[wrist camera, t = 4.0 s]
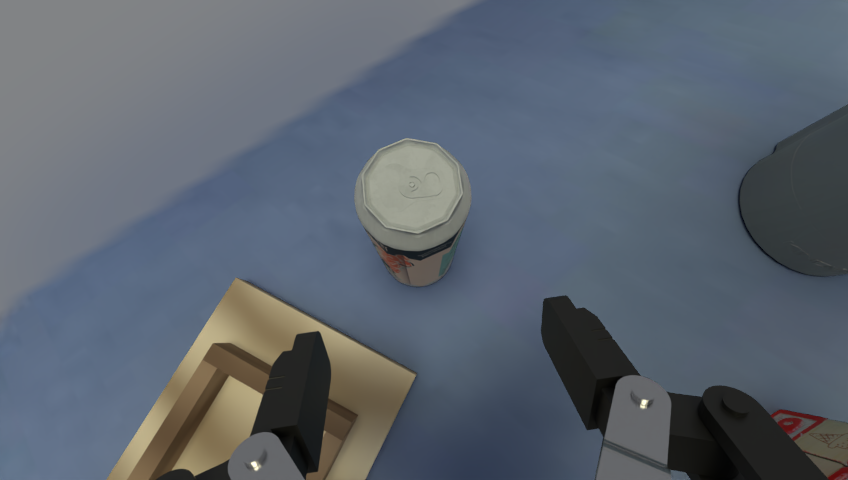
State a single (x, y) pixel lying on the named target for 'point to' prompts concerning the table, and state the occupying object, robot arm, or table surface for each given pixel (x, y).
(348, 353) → the base board
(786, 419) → the stack of blocks
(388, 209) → the beer can
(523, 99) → the table surface
